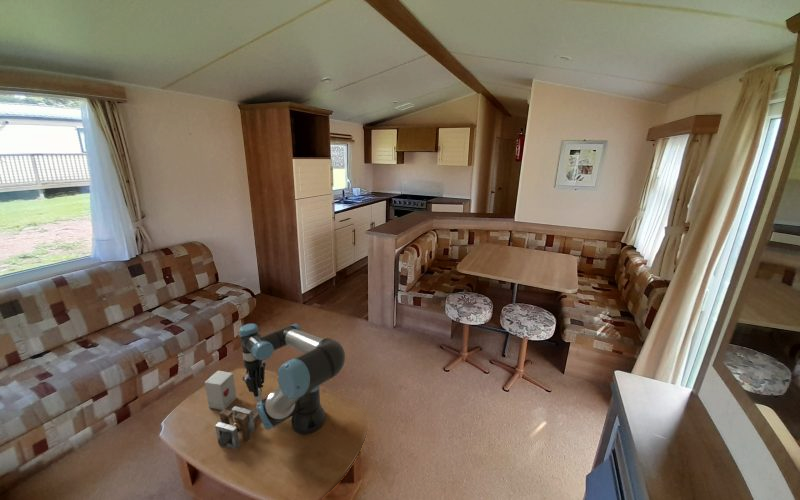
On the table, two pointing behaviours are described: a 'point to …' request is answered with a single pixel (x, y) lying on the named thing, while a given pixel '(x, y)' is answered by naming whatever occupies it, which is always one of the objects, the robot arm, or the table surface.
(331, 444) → the table surface
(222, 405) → the supplement box
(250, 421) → the collar
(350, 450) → the table surface
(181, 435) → the table surface
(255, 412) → the rail
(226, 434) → the tube
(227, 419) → the aperture bridge
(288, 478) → the table surface
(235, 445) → the collar
